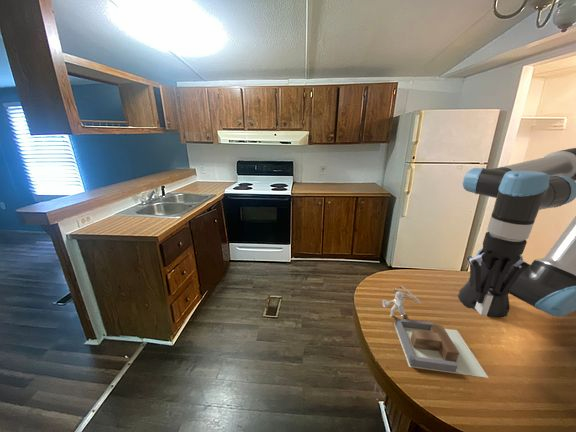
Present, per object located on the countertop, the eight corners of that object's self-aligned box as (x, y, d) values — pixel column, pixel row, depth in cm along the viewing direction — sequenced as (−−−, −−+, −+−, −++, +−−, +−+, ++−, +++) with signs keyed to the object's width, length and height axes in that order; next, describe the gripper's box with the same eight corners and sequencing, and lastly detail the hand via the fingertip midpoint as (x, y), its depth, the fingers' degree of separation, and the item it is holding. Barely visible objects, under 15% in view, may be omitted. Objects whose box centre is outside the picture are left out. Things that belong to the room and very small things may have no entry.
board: (456, 332, 76) (458, 324, 75) (487, 380, 62) (491, 371, 60) (393, 325, 79) (394, 317, 78) (408, 369, 65) (410, 360, 63)
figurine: (408, 320, 82) (415, 292, 78) (387, 326, 79) (393, 298, 75) (398, 310, 86) (404, 284, 82) (378, 316, 83) (383, 289, 79)
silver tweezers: (392, 290, 98) (393, 286, 97) (399, 287, 100) (400, 283, 99) (431, 320, 84) (432, 316, 83) (439, 315, 86) (440, 311, 85)
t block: (439, 334, 74) (442, 325, 73) (455, 363, 65) (459, 353, 64) (406, 331, 76) (408, 321, 74) (418, 358, 67) (420, 348, 65)
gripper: (524, 230, 58) (497, 304, 67) (467, 228, 60) (448, 300, 69) (551, 243, 51) (517, 324, 60) (486, 240, 54) (462, 319, 62)
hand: (480, 311), depth 64 cm, fingers closed
